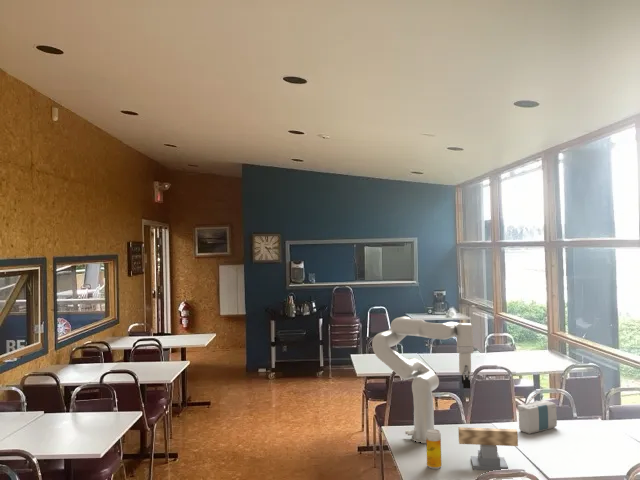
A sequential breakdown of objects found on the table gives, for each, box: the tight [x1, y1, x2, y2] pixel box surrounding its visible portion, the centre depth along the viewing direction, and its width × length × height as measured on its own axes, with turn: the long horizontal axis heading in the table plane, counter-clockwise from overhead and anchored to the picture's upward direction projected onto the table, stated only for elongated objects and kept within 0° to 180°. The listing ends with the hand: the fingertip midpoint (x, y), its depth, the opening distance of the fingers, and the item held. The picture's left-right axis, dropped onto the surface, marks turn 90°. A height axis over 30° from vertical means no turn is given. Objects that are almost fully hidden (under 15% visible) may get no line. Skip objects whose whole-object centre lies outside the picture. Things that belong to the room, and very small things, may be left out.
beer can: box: [425, 428, 442, 470], centre depth 238 cm, size 6×6×15 cm
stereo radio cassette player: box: [517, 388, 558, 435], centre depth 287 cm, size 21×8×20 cm, turn 119°
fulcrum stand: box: [470, 445, 509, 471], centre depth 238 cm, size 14×12×9 cm
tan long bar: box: [457, 426, 519, 447], centre depth 239 cm, size 24×4×6 cm, turn 79°
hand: (466, 385), depth 263 cm, fingers open, 9 cm apart
